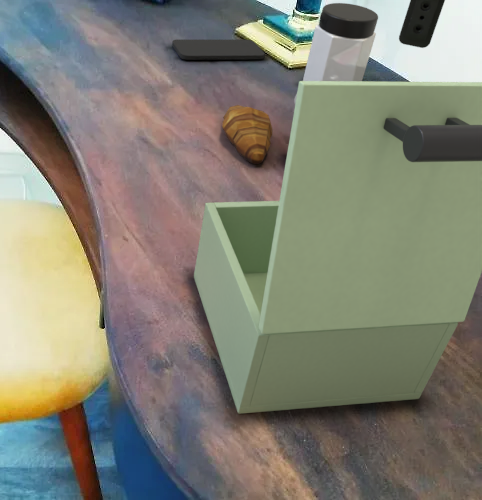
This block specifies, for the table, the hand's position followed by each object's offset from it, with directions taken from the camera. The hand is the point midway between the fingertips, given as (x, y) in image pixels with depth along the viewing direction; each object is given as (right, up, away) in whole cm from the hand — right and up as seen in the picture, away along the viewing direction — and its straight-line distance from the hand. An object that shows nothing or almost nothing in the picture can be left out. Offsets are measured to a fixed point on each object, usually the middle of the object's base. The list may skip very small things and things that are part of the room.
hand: (418, 27), depth 51 cm
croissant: (-8, -3, +36) cm, 37 cm away
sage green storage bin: (-8, -25, +8) cm, 27 cm away
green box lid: (-5, -15, -8) cm, 18 cm away
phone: (-9, +16, +60) cm, 63 cm away
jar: (+8, +8, +52) cm, 53 cm away
